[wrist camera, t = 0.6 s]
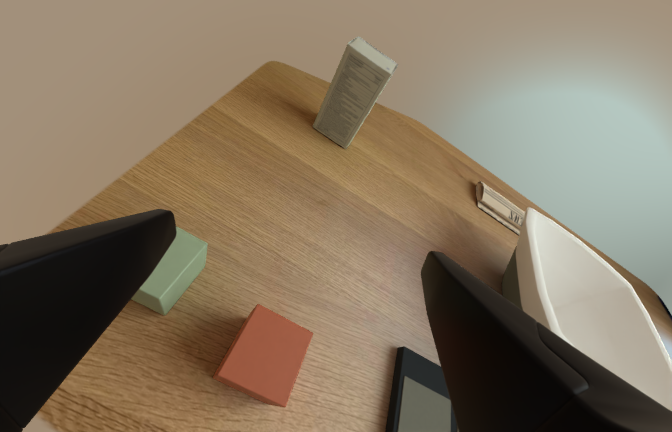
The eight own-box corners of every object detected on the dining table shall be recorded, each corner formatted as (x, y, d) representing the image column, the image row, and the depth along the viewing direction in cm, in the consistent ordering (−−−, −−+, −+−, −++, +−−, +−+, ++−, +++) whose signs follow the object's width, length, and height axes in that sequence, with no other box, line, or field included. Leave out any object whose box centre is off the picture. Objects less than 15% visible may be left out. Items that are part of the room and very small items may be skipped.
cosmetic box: (353, 137, 41) (400, 65, 32) (345, 150, 38) (393, 75, 29) (321, 114, 40) (359, 34, 31) (309, 126, 37) (348, 41, 28)
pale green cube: (165, 316, 18) (159, 299, 15) (105, 286, 17) (85, 262, 14) (205, 266, 21) (208, 243, 18) (155, 239, 20) (149, 210, 17)
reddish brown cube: (268, 404, 18) (285, 407, 15) (212, 377, 17) (217, 375, 14) (294, 341, 21) (313, 333, 17) (247, 317, 20) (258, 303, 17)
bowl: (570, 295, 44) (632, 279, 38) (615, 461, 29) (732, 481, 23) (473, 223, 43) (521, 194, 36) (467, 358, 27) (548, 349, 21)
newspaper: (560, 243, 54) (569, 239, 53) (569, 270, 49) (580, 267, 48) (475, 184, 51) (483, 178, 50) (476, 206, 46) (485, 201, 45)
